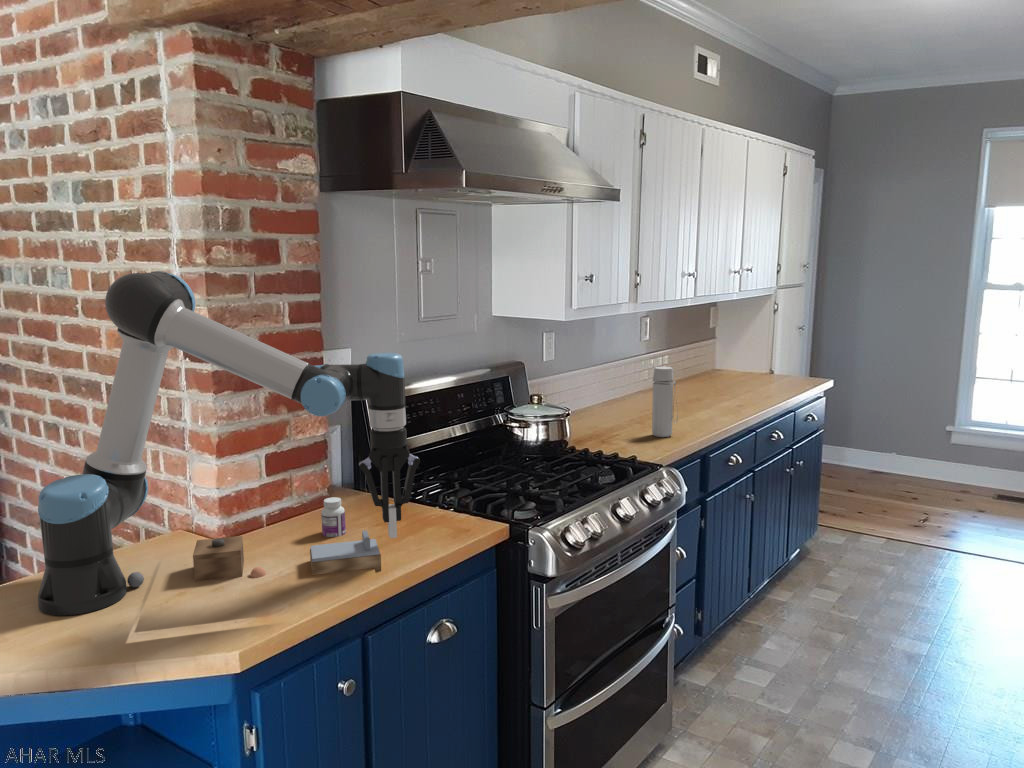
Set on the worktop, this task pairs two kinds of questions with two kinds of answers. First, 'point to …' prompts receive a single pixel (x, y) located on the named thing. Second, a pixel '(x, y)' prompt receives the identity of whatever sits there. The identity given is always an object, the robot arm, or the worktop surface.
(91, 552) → the robot arm
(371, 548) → the sliding lid
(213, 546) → the cover
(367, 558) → the pencil box
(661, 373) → the water bottle
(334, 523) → the pill bottle
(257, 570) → the ball terracotta
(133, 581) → the ball grey
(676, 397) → the worktop surface
